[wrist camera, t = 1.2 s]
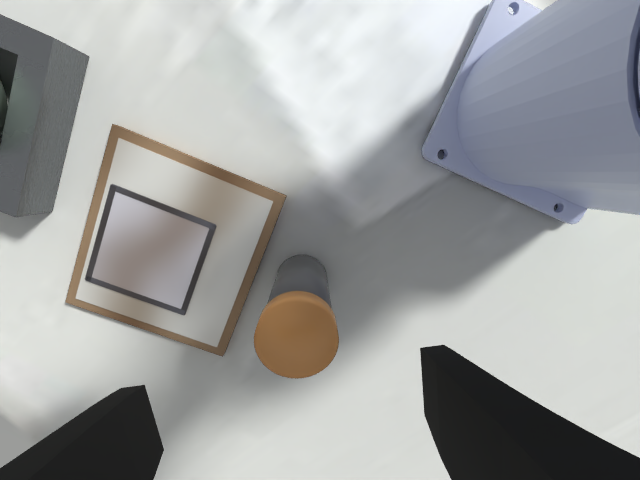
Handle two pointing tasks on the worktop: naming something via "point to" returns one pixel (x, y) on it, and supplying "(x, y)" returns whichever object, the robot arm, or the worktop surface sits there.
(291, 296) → the marker
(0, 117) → the button
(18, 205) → the button housing
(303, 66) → the worktop surface
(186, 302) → the wooden framed board
